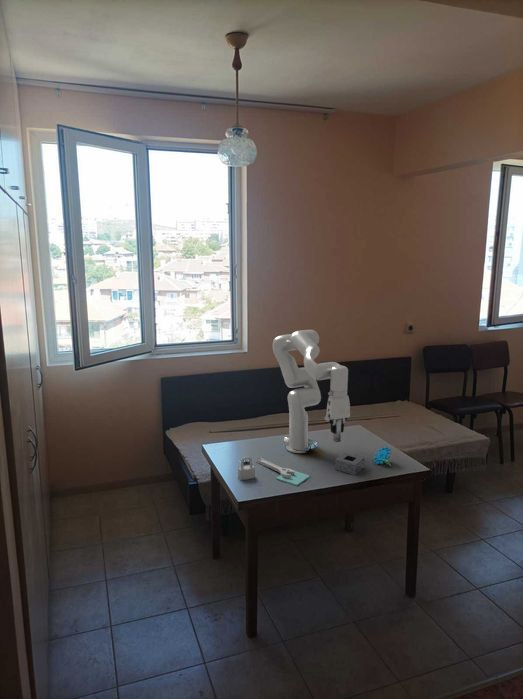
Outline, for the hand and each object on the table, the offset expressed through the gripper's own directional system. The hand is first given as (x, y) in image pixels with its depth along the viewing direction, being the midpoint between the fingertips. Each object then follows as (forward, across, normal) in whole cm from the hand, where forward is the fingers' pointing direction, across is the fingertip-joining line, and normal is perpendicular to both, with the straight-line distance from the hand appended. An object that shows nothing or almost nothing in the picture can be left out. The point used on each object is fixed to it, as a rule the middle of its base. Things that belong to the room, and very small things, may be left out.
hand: (337, 431), depth 225 cm
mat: (+19, -22, +2) cm, 29 cm away
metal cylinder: (+4, 0, 0) cm, 4 cm away
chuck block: (+19, +7, -1) cm, 20 cm away
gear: (+19, +25, -3) cm, 32 cm away
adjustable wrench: (+19, -24, +14) cm, 34 cm away
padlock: (+19, -40, +11) cm, 46 cm away
